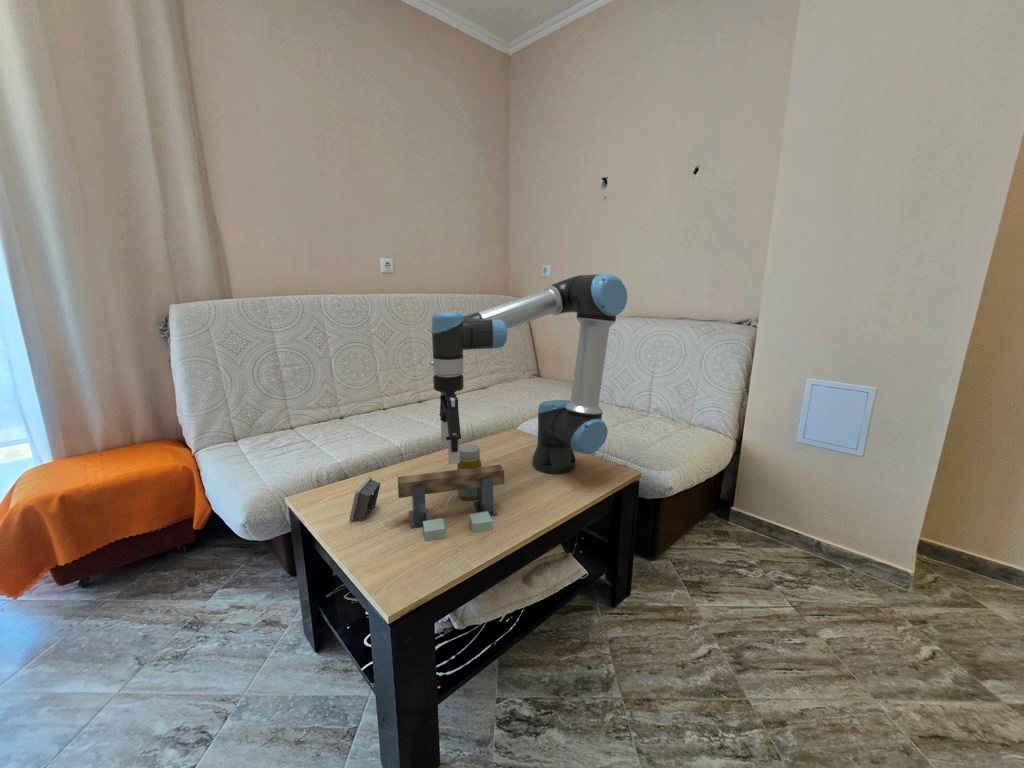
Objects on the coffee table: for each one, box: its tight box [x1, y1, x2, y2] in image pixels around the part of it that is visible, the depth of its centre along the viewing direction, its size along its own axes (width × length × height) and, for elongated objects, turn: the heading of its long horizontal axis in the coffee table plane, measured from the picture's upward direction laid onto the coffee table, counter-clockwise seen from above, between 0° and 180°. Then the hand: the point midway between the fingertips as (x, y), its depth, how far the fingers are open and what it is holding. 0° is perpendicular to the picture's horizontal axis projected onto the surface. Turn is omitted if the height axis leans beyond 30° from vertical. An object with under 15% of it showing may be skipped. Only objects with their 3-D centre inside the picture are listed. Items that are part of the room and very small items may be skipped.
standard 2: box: [473, 476, 498, 517], centre depth 115 cm, size 5×8×11 cm, turn 17°
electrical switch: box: [349, 476, 381, 522], centre depth 114 cm, size 9×5×9 cm, turn 176°
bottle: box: [456, 444, 482, 501], centre depth 123 cm, size 7×7×15 cm
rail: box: [397, 464, 505, 499], centre depth 112 cm, size 28×4×4 cm, turn 107°
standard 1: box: [408, 485, 431, 530], centre depth 110 cm, size 5×8×11 cm, turn 17°
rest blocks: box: [422, 511, 494, 542], centre depth 106 cm, size 17×5×2 cm, turn 107°
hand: (450, 453), depth 110 cm, fingers open, 13 cm apart
